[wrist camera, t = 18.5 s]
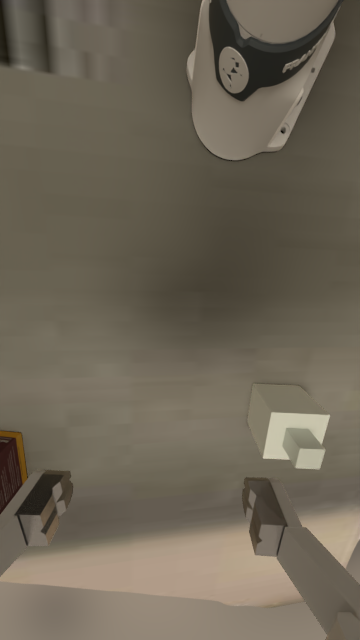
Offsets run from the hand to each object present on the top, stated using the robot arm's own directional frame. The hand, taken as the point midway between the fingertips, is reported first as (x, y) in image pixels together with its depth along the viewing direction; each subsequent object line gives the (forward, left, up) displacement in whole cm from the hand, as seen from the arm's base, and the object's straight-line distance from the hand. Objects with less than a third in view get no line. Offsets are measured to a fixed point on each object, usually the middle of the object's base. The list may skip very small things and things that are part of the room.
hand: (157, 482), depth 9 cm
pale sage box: (+4, +29, -30) cm, 42 cm away
